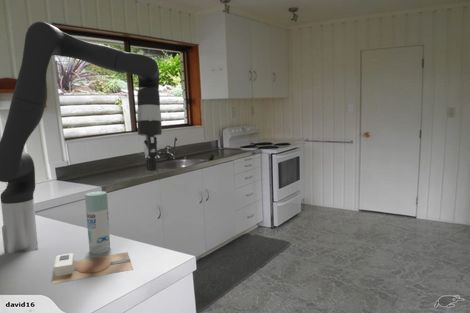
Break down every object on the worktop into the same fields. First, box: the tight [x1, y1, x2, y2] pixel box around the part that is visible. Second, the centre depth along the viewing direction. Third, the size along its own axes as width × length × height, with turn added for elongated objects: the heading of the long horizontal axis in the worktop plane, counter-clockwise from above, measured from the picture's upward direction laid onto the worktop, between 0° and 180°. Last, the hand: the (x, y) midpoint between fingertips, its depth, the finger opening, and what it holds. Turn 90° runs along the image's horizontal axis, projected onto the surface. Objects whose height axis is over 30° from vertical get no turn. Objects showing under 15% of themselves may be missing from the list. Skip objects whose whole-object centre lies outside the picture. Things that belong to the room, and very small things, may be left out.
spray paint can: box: [84, 190, 111, 255], centre depth 113 cm, size 6×6×20 cm
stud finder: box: [53, 252, 75, 277], centre depth 100 cm, size 9×4×3 cm, turn 23°
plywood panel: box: [52, 251, 134, 285], centre depth 102 cm, size 20×14×2 cm
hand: (151, 170), depth 114 cm, fingers open, 8 cm apart
